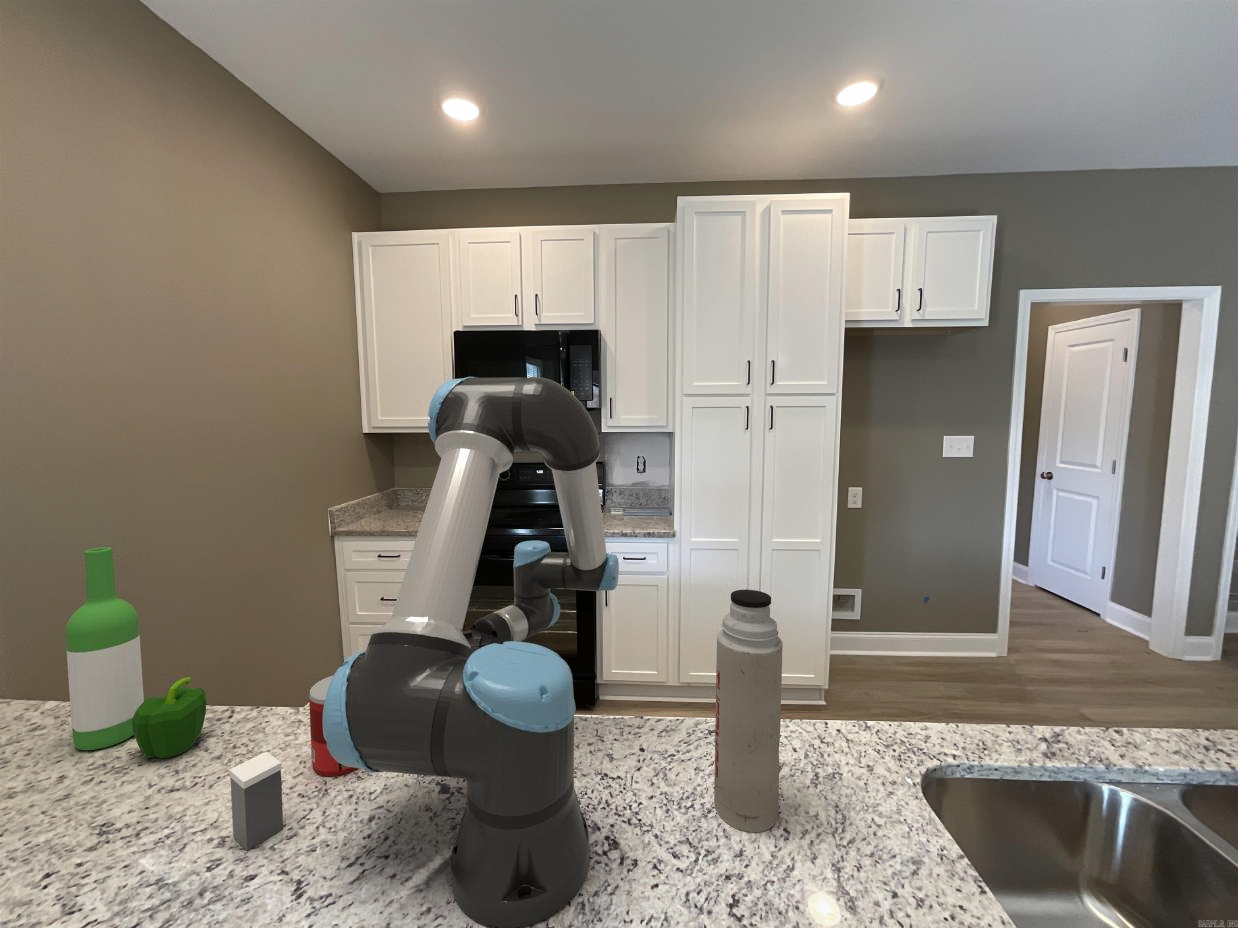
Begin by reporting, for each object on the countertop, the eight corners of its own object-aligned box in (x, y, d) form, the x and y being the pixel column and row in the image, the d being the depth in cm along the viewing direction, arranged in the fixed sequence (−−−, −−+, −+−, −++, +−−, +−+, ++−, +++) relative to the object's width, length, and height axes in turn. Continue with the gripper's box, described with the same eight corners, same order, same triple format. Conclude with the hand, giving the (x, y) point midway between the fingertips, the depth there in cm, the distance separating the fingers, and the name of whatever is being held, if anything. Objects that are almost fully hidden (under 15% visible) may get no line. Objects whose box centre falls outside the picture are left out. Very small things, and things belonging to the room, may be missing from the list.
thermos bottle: (706, 818, 60) (710, 598, 58) (722, 777, 67) (726, 580, 65) (773, 842, 56) (779, 609, 55) (782, 796, 64) (787, 589, 62)
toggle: (284, 828, 56) (281, 762, 56) (246, 851, 53) (243, 781, 53) (269, 815, 58) (266, 751, 58) (232, 836, 55) (229, 769, 55)
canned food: (347, 782, 64) (345, 702, 63) (297, 773, 66) (294, 695, 65) (386, 745, 72) (384, 674, 71) (340, 738, 73) (338, 668, 72)
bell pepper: (144, 775, 67) (140, 706, 66) (126, 754, 71) (122, 689, 71) (219, 742, 74) (216, 680, 73) (198, 725, 78) (195, 666, 78)
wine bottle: (136, 717, 81) (125, 541, 79) (152, 732, 77) (141, 547, 75) (66, 742, 74) (53, 550, 72) (81, 760, 70) (67, 558, 68)
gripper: (548, 666, 88) (454, 726, 70) (456, 635, 101) (356, 679, 83) (548, 626, 87) (453, 676, 69) (455, 600, 100) (355, 637, 82)
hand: (400, 678), depth 76 cm, fingers open, 13 cm apart
